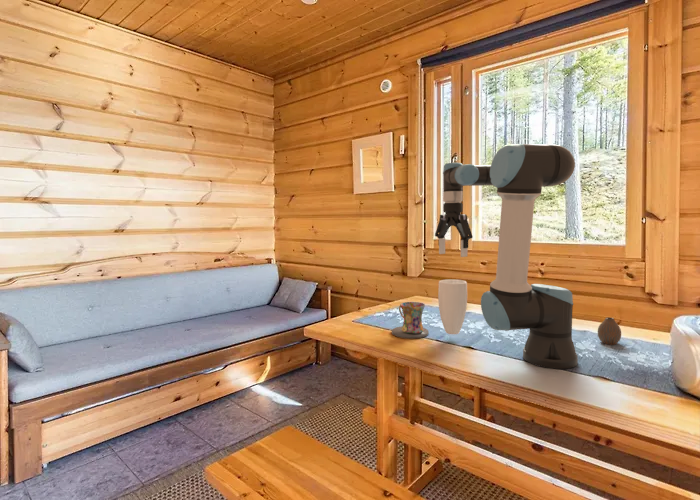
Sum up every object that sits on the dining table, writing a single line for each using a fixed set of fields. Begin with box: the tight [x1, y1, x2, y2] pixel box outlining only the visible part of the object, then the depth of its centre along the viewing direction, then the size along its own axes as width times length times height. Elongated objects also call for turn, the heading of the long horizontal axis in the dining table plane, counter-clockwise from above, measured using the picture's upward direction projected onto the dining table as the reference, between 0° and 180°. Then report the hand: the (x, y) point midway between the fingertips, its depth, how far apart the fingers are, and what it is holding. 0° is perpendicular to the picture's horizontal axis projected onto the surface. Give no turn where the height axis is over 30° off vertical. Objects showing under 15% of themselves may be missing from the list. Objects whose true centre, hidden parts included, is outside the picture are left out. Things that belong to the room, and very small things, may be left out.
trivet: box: [391, 325, 429, 340], centre depth 156 cm, size 14×14×1 cm
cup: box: [437, 278, 468, 335], centre depth 146 cm, size 10×10×22 cm
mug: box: [398, 301, 426, 334], centre depth 155 cm, size 12×9×11 cm
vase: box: [597, 317, 622, 346], centre depth 140 cm, size 7×7×9 cm
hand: (452, 255), depth 165 cm, fingers open, 13 cm apart
